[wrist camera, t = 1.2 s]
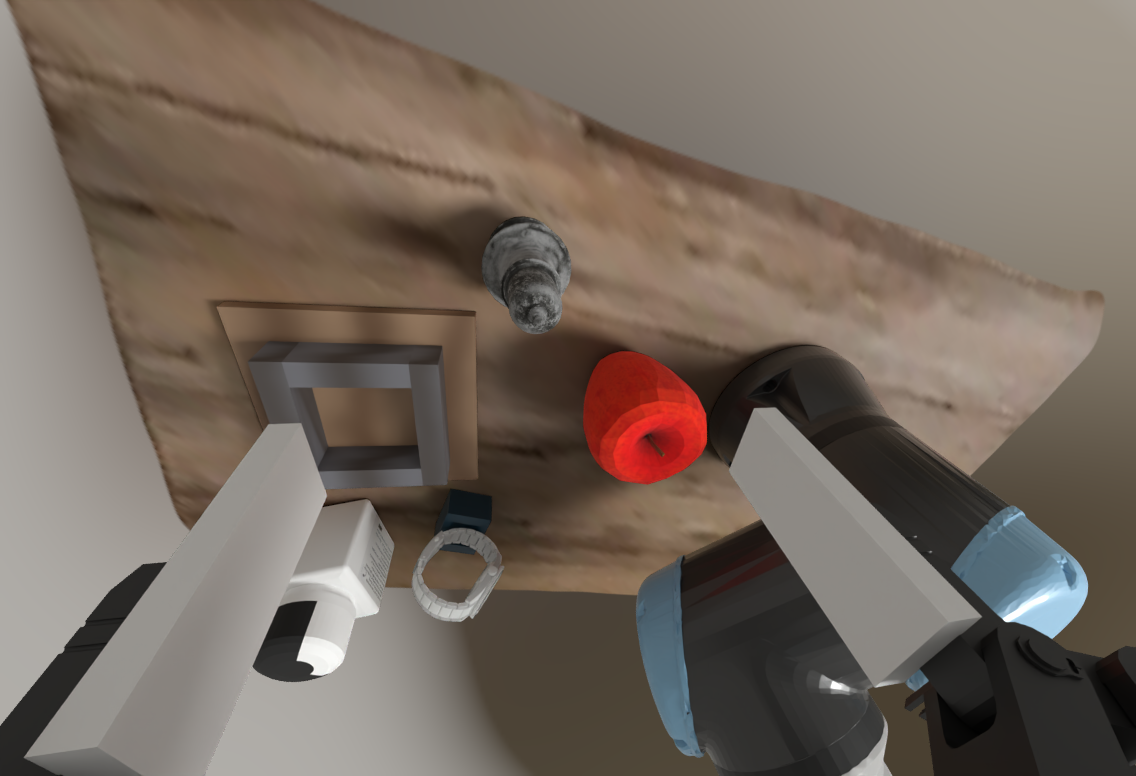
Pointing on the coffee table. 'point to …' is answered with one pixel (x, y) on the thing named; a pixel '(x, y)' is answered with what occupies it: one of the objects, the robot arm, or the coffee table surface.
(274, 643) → the container
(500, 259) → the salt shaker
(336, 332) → the holder
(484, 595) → the watch
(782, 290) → the coffee table surface
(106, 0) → the coffee table surface
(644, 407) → the apple
